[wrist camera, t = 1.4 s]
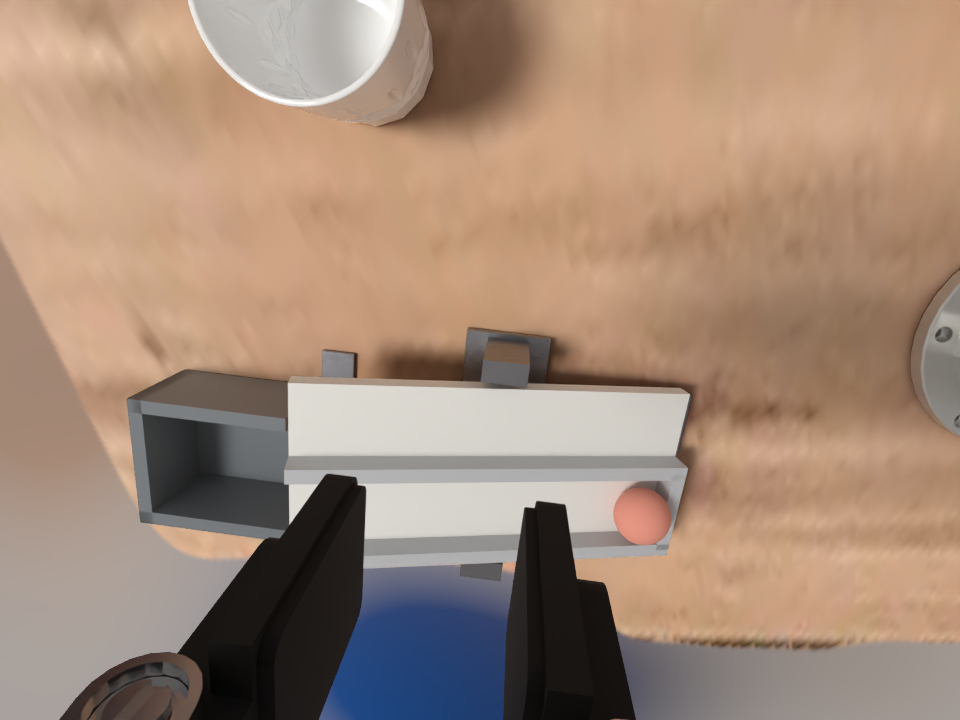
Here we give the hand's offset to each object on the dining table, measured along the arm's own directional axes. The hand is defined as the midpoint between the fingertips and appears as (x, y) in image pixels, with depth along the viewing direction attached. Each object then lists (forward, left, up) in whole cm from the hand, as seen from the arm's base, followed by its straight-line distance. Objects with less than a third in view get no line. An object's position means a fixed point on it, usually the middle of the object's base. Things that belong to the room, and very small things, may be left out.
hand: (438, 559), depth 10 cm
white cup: (+8, -13, -22) cm, 27 cm away
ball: (-10, +10, -18) cm, 23 cm away
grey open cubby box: (+15, +10, -22) cm, 29 cm away
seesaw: (-1, +8, -18) cm, 20 cm away
